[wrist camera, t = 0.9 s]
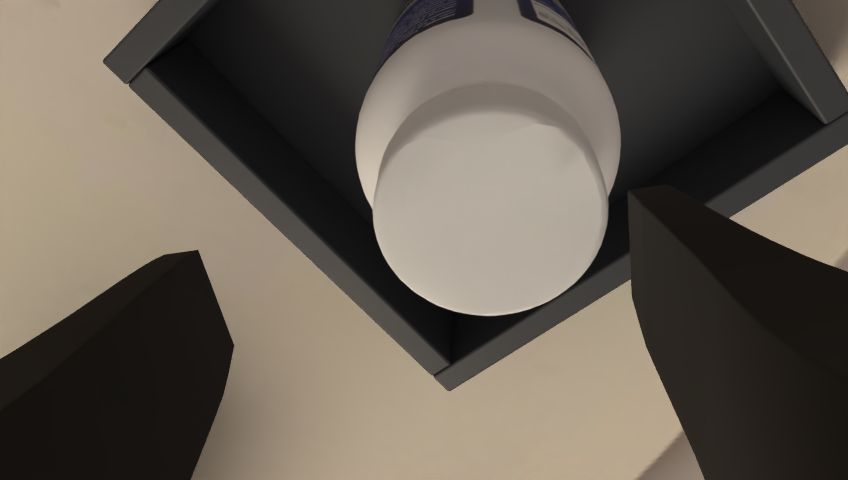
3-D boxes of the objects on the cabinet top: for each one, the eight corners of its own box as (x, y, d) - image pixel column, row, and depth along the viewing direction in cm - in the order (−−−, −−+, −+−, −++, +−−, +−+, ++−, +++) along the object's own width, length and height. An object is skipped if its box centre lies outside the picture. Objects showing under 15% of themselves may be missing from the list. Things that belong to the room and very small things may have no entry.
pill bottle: (387, 148, 22) (334, 342, 14) (386, -40, 19) (318, 55, 11) (566, 155, 22) (626, 357, 13) (589, -35, 19) (681, 66, 11)
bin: (817, 90, 21) (872, 130, 18) (451, 330, 26) (448, 393, 23) (529, -366, 16) (541, -410, 13) (151, 31, 21) (100, 62, 18)
